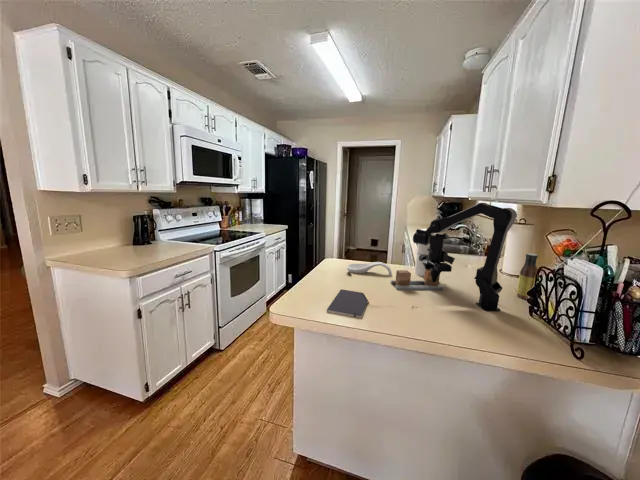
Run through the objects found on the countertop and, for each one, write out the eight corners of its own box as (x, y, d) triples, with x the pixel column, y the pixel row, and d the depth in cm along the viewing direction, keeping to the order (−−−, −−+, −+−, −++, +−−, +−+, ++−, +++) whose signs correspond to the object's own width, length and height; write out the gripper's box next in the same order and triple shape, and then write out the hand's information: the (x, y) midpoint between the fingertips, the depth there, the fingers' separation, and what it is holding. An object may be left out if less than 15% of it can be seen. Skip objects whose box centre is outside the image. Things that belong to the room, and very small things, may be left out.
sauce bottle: (527, 295, 125) (536, 252, 121) (536, 301, 119) (546, 256, 115) (512, 294, 126) (520, 251, 122) (520, 299, 120) (529, 255, 116)
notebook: (340, 292, 120) (326, 313, 100) (340, 289, 120) (326, 309, 100) (370, 297, 116) (361, 319, 97) (370, 293, 116) (361, 315, 96)
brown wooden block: (438, 286, 125) (440, 271, 124) (426, 286, 125) (428, 271, 123) (434, 283, 129) (436, 269, 127) (423, 283, 128) (424, 269, 127)
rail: (444, 293, 123) (445, 287, 122) (397, 293, 120) (397, 287, 120) (433, 285, 132) (434, 279, 132) (389, 285, 130) (389, 279, 130)
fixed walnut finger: (409, 287, 124) (411, 272, 123) (397, 287, 123) (399, 272, 122) (406, 284, 127) (408, 270, 126) (395, 284, 127) (396, 270, 125)
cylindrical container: (414, 277, 143) (419, 230, 138) (413, 273, 149) (419, 228, 145) (429, 279, 141) (435, 231, 136) (427, 275, 148) (433, 229, 143)
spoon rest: (344, 275, 142) (345, 262, 141) (347, 269, 154) (348, 256, 152) (391, 281, 137) (393, 267, 136) (391, 274, 148) (392, 261, 147)
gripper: (466, 252, 115) (460, 288, 118) (442, 243, 133) (438, 274, 136) (440, 252, 114) (435, 288, 117) (420, 242, 132) (416, 274, 135)
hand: (432, 280), depth 126 cm, fingers closed on brown wooden block, 3 cm apart
